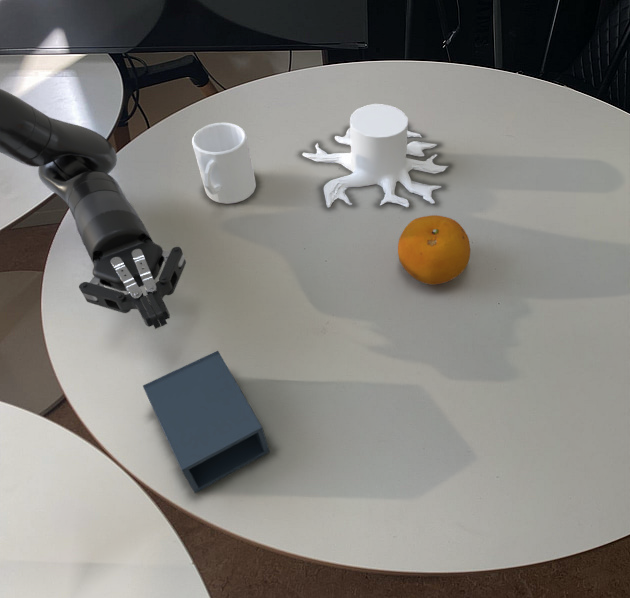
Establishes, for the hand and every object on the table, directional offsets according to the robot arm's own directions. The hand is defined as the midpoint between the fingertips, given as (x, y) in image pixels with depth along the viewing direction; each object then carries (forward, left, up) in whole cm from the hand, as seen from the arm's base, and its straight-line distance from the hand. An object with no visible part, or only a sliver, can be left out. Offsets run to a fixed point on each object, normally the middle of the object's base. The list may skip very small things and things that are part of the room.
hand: (159, 322), depth 69 cm
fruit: (+29, +24, -10) cm, 39 cm away
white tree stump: (+16, +46, -10) cm, 50 cm away
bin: (+3, -3, -7) cm, 8 cm away
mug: (-6, +33, -10) cm, 35 cm away
